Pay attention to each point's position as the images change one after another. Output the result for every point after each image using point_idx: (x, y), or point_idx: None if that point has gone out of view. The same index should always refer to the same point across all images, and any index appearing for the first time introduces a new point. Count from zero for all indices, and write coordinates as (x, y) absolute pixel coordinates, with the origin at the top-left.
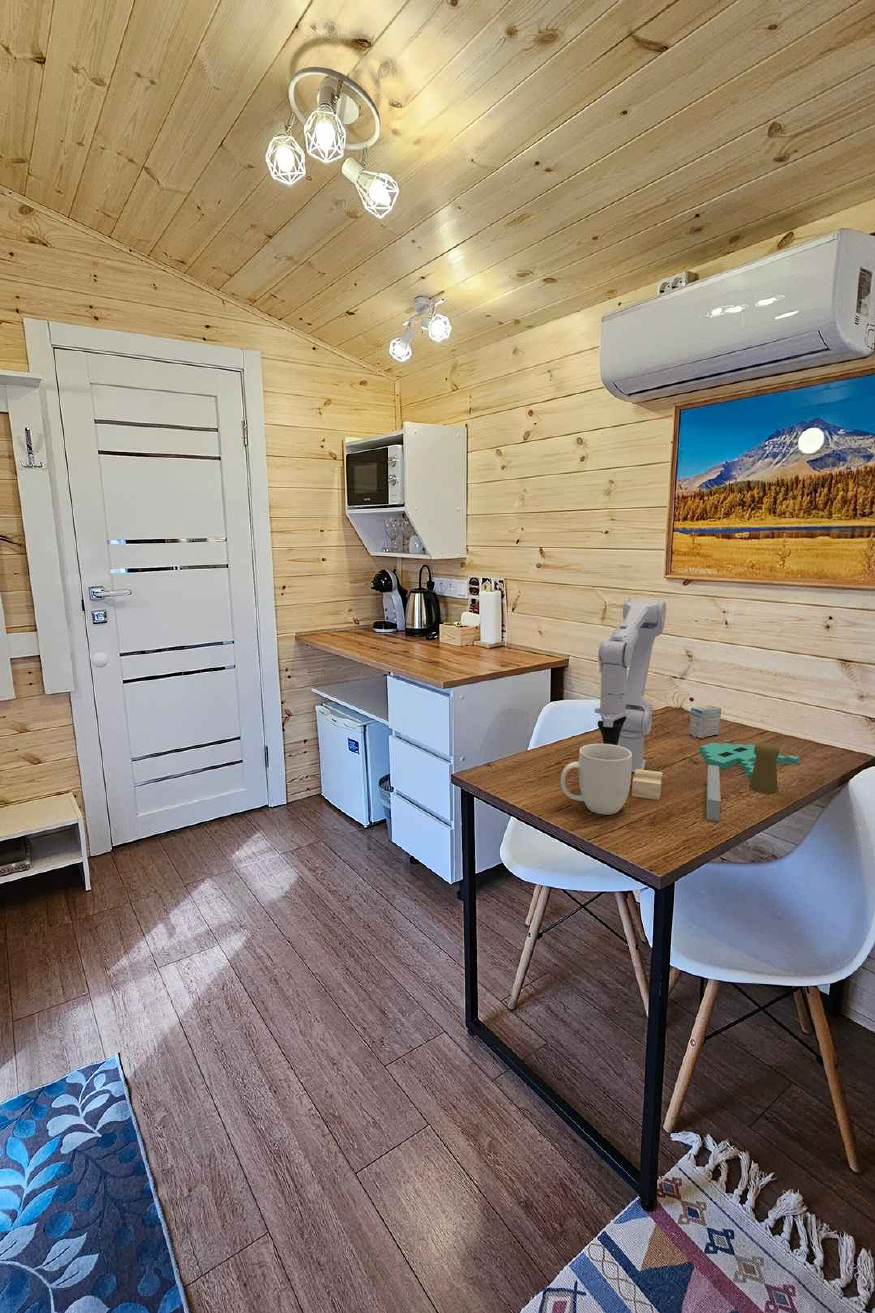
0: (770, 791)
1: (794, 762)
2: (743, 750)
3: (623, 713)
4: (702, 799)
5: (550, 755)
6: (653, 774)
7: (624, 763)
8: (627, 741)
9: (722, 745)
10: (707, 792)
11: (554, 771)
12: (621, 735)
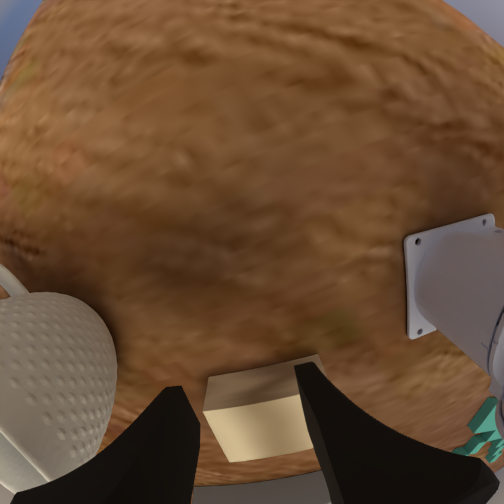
0: None
1: (487, 459)
2: None
3: None
4: (293, 472)
5: (403, 13)
6: (303, 435)
7: (7, 476)
8: (478, 341)
9: None
10: (270, 500)
11: (268, 58)
12: (502, 322)
